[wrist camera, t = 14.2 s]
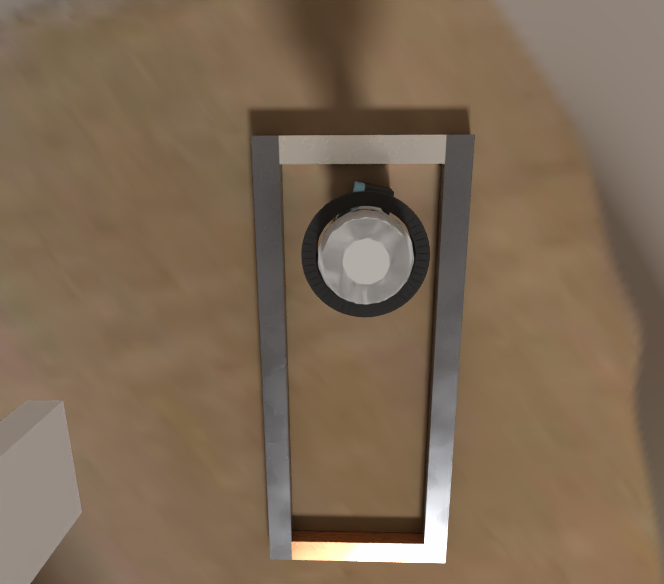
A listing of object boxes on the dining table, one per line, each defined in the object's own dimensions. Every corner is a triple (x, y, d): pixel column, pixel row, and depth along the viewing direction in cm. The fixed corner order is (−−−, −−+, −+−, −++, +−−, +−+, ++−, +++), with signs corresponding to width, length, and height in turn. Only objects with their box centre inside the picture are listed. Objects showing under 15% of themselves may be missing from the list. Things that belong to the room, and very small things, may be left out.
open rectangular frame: (272, 548, 37) (270, 559, 36) (254, 135, 29) (251, 135, 28) (442, 551, 36) (445, 562, 36) (470, 134, 29) (474, 134, 28)
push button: (389, 297, 31) (407, 365, 22) (303, 279, 31) (282, 340, 22) (416, 187, 30) (449, 209, 20) (325, 168, 29) (313, 181, 20)
